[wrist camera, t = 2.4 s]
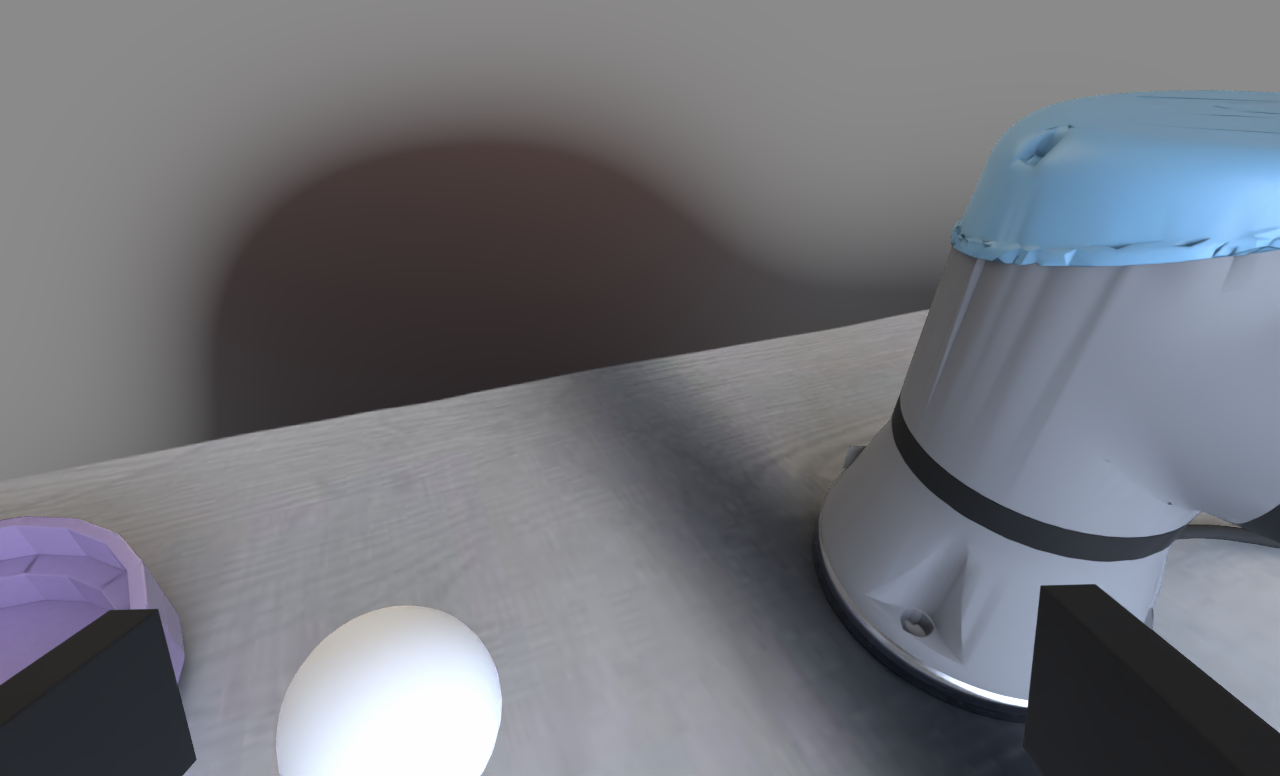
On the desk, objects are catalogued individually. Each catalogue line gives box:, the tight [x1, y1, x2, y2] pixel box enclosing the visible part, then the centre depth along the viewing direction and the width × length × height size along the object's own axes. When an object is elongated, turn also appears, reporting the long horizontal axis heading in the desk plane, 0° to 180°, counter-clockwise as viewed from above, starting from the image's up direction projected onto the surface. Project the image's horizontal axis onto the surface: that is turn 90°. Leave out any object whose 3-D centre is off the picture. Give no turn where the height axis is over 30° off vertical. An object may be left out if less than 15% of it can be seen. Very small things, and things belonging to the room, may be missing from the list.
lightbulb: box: [276, 605, 502, 776], centre depth 20 cm, size 6×6×11 cm
